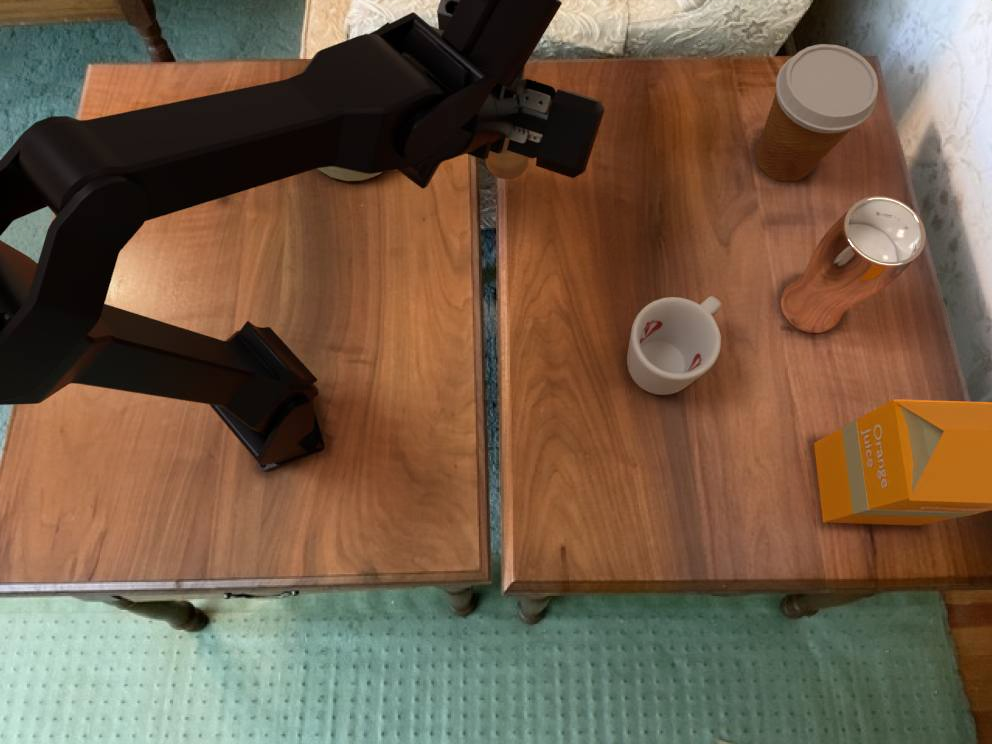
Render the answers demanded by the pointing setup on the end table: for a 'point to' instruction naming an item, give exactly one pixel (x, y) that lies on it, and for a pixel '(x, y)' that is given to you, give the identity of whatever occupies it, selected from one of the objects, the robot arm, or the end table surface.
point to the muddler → (507, 161)
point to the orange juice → (908, 464)
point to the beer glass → (854, 262)
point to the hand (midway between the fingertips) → (512, 103)
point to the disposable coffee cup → (814, 109)
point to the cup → (673, 343)
